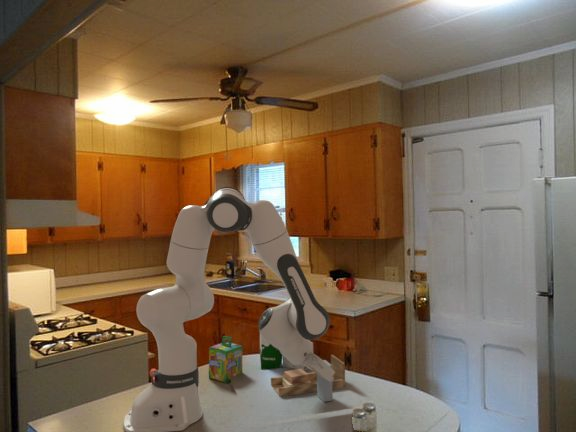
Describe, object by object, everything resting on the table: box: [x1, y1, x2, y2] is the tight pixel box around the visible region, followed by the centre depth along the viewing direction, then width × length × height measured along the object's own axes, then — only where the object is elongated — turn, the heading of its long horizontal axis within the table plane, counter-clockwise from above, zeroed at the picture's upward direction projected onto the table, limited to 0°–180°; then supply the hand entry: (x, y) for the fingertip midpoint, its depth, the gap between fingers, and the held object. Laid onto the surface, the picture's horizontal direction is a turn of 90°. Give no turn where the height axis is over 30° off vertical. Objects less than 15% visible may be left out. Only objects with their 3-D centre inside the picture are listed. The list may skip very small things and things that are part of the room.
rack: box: [270, 354, 346, 397], centre depth 149 cm, size 23×10×9 cm, turn 108°
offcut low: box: [282, 378, 311, 387], centre depth 148 cm, size 8×7×2 cm
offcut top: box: [283, 369, 309, 384], centre depth 148 cm, size 6×6×2 cm
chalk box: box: [208, 335, 243, 384], centre depth 162 cm, size 9×9×15 cm
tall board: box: [316, 359, 334, 403], centre depth 139 cm, size 3×6×11 cm, turn 18°
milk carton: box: [259, 331, 283, 370], centre depth 172 cm, size 9×9×20 cm
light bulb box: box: [282, 341, 314, 372], centre depth 169 cm, size 11×7×11 cm, turn 49°
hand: (325, 376), depth 139 cm, fingers closed on tall board, 6 cm apart
